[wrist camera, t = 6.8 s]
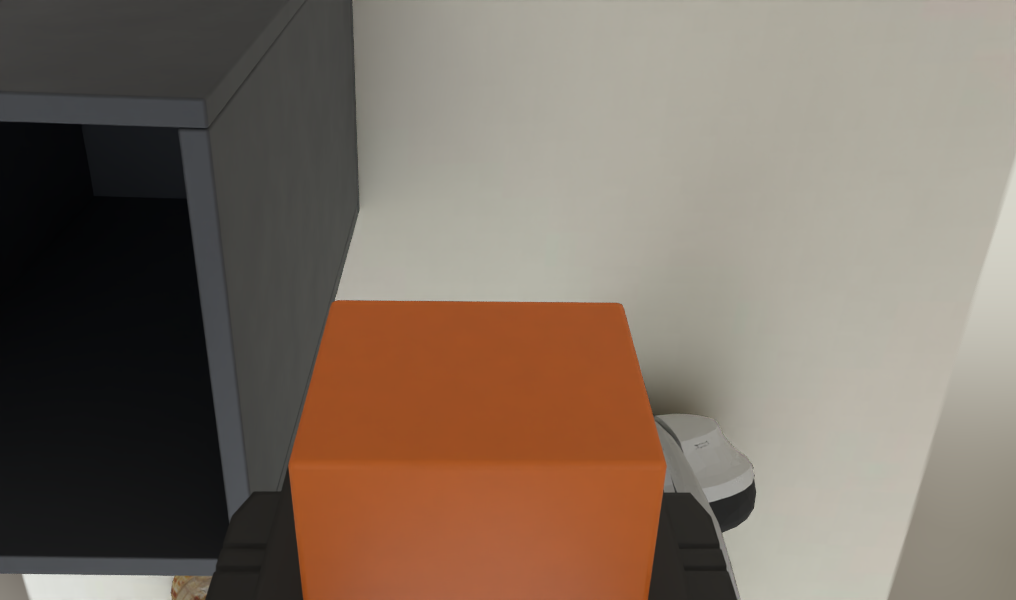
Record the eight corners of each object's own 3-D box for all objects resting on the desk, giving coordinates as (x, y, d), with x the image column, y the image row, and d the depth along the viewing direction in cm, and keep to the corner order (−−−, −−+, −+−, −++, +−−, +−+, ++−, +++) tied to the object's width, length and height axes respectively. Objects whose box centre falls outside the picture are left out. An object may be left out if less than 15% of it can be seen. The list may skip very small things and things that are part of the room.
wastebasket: (34, -88, 37) (-482, 74, 17) (349, -74, 37) (204, 98, 18) (88, 202, 43) (-248, 571, 23) (359, 210, 43) (259, 577, 23)
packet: (331, 297, 13) (285, 463, 10) (623, 300, 13) (668, 464, 10) (357, 651, 16) (330, 855, 13) (587, 649, 16) (613, 850, 13)
